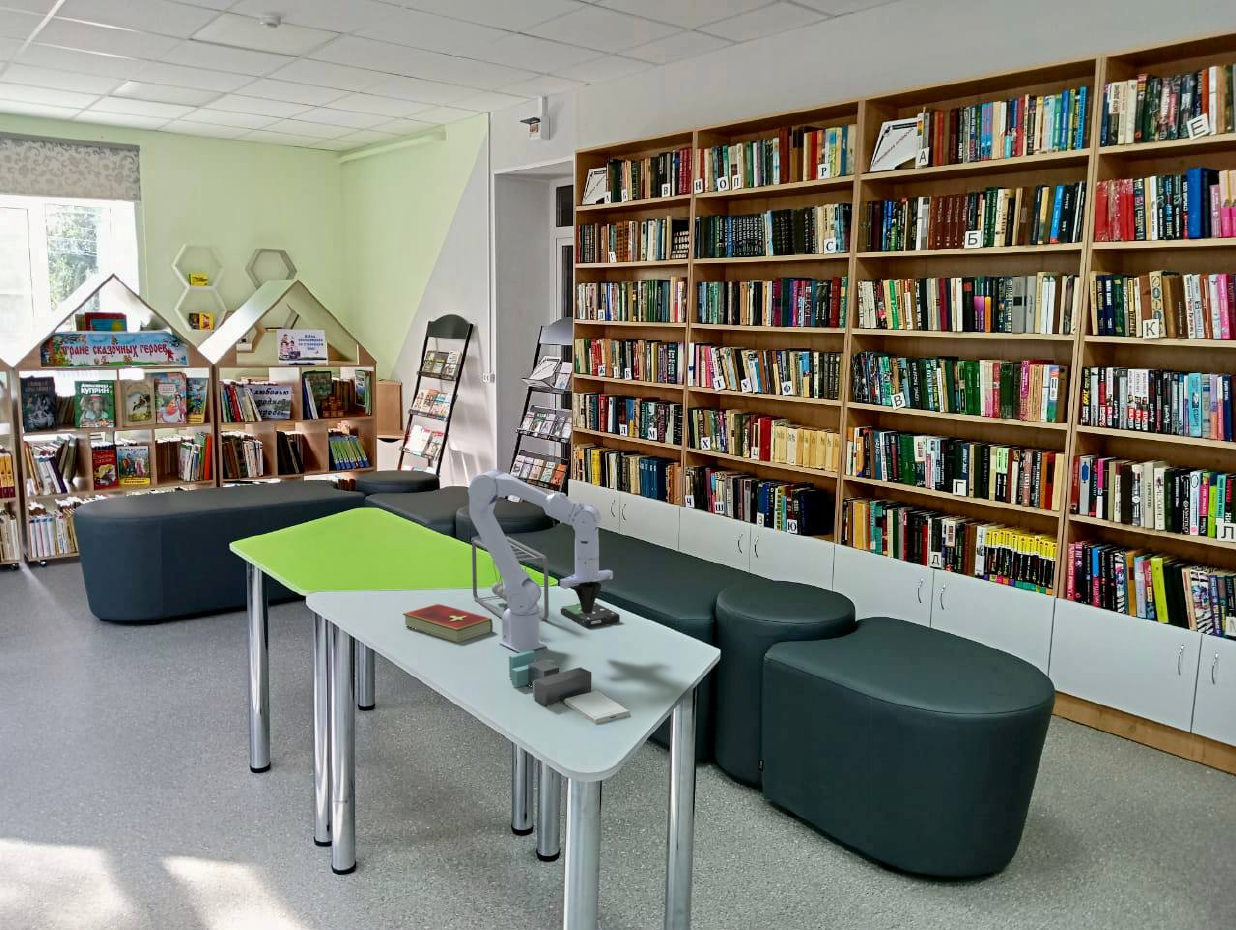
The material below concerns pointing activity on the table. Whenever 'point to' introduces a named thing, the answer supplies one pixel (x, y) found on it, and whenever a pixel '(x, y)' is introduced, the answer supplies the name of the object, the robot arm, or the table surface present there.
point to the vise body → (562, 686)
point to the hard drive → (596, 707)
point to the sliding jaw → (521, 667)
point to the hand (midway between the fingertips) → (587, 612)
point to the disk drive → (590, 615)
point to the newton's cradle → (498, 586)
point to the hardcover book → (448, 622)
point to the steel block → (540, 670)
